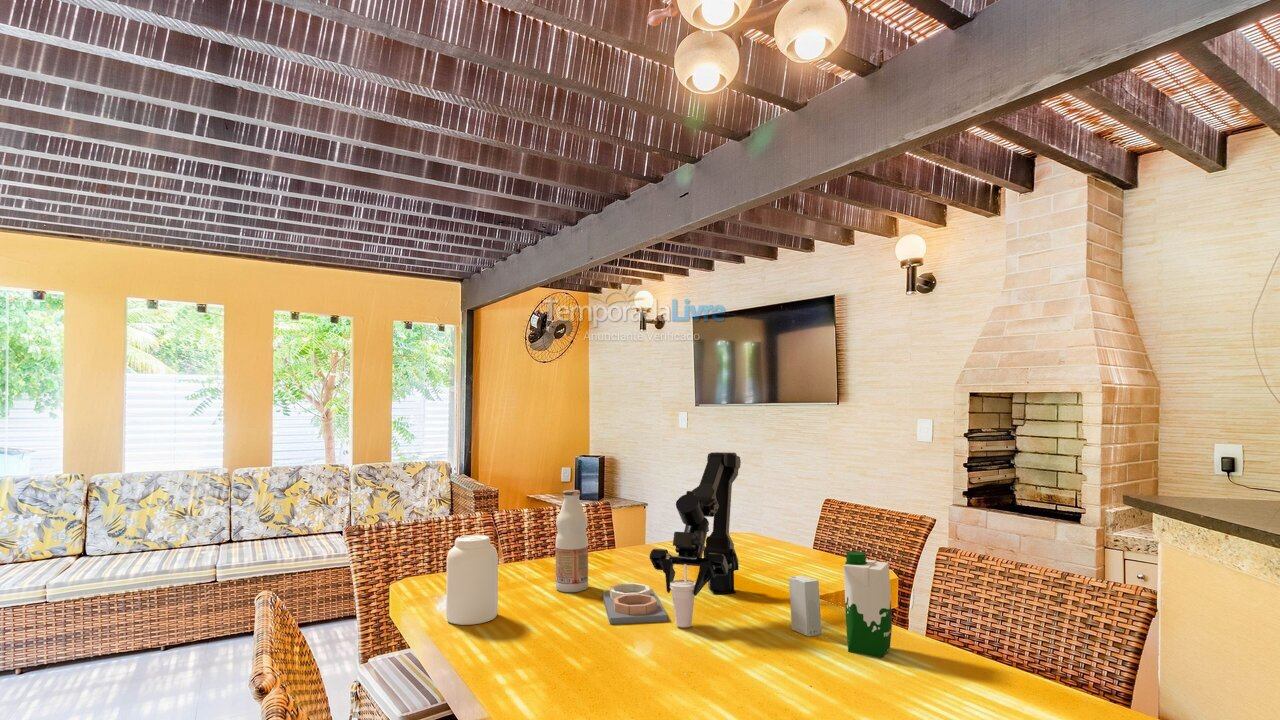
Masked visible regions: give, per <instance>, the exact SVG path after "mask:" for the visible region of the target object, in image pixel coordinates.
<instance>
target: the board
mask: <svg viewBox="0 0 1280 720" xmlns="http://www.w3.org/2000/svg"><path fill="white" fill-rule="evenodd" d="M601 594H602V595H601V598H602V600H603V605H604V608H605V611H606V615H607V618H608V623H609V625H622V624H623V625H624V624H641V623H642V624H643V623H645V624H646V623H660V622H661V623H663V622H668V614H667V612H666V610H665V609H664V607H663V605H662V604H661V601H660V600H659V598H658V596H657V595H656V593H655V591H654V589H653V588H650V586H649V585H647V584H644V583H643V584H642V583H635V582H630V583H629V582H628V583H617V584H615V585H612V586H610V587H609V590H602V591H601Z"/></svg>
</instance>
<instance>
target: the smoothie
mask: <svg viewBox="0 0 1280 720" xmlns="http://www.w3.org/2000/svg"><path fill="white" fill-rule="evenodd" d="M683 571H684V572H683V574H684V575H683V576H684V578H683V579H676V580H675V579H674V580H673V581H672V582H671V583H670V588H671V597H672V605H673V612H674V619H675V625H676V626H677V627H679V628H690V627H692V624H693V616H694V606H695V597H696V596H694V587H695V584H696V581H694V580H691V579H687V578H688V577H687V575H688V574H687V565H686V564H684V565H683Z"/></svg>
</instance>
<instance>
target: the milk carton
mask: <svg viewBox="0 0 1280 720" xmlns="http://www.w3.org/2000/svg"><path fill="white" fill-rule="evenodd" d="M845 555H846V556H845V557H846V561H845V563H844V564H843V566H842V567H843V568H842V569H843V580H844V581H843V582H844V603H845V604H844V605H845V627H846V628H845V629H846V640H847V652H849V653H855V654H859V655H863V656H870V657H875V658H882V659H883V658H884V657H885V655H886V654H887V653H888V651H889V650H890V648H891V639H892V633H893V631H892V630H893V629H892V628H893V625H892V623H893V620H892V619H893V618H892V597H891V596H892V593H891V578H890V577H891V575H890V569H889V568H890V567H889V566H890V565H889V562H885V561H877V560H875V559H874V560H873V559H867V554H866V552H863V551H860V550H849V551H846V554H845Z"/></svg>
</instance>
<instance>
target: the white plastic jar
mask: <svg viewBox="0 0 1280 720" xmlns="http://www.w3.org/2000/svg"><path fill="white" fill-rule="evenodd" d="M498 568H499V555H498V551H497V548H496V547H495V546H494V545H493V544H492V543H491V538H490V537H489V535H485V534H467V535H461V536H458V537H456V538H455V541H454V546H453V547H451V549H449V550H448V551H447V556H446V581H445V583H446V585H445V586H446V589H445V590H446V592H445V594H446V596H445V599H446V600H445V601H446V602H445V617H446V620H447V622H448V623H450V624H454V625H460V626H472V625H480V624H485V623H487V622H489V621H493V620H494V619H496V617H497V616H498V612H499V608H498V607H499V606H498V603H499V596H498V595H499V591H498V590H499V580H498V579H499V569H498Z"/></svg>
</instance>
